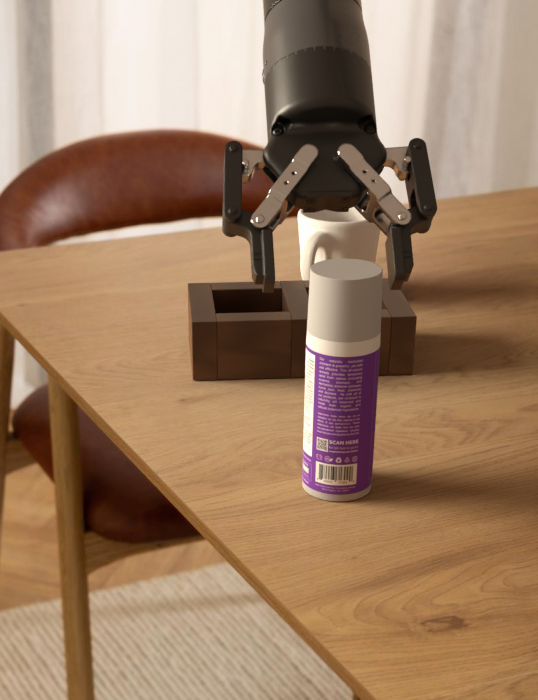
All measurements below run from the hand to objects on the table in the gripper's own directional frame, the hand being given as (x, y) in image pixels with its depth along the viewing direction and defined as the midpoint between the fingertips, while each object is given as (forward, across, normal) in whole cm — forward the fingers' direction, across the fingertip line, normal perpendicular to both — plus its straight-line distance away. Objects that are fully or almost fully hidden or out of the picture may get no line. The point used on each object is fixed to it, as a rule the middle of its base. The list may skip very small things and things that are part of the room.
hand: (333, 286), depth 78 cm
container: (+12, 0, +6) cm, 13 cm away
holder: (-5, 0, +22) cm, 23 cm away
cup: (-15, +5, +33) cm, 37 cm away
